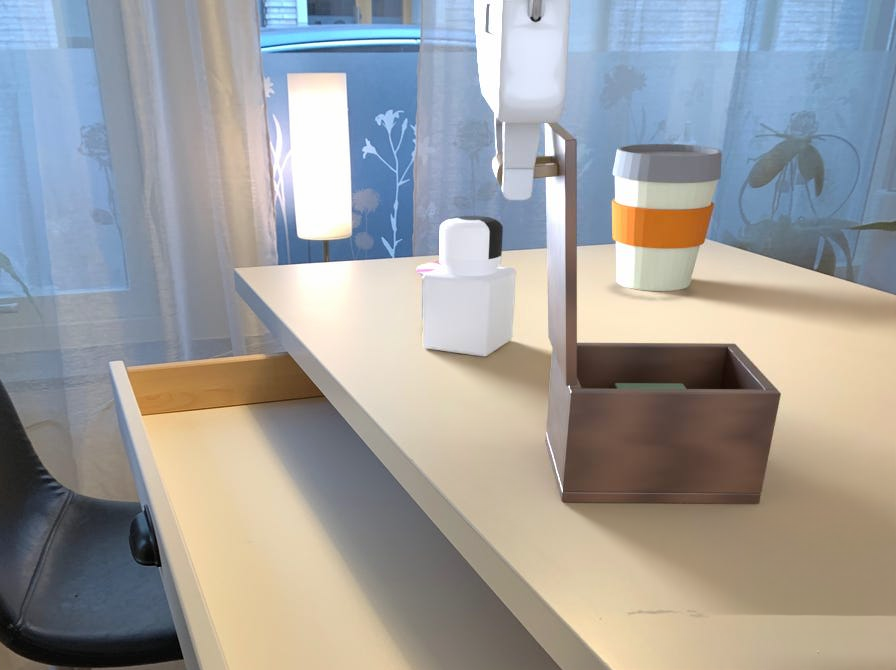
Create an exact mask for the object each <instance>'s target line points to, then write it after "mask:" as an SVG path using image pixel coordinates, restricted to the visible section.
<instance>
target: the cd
mask: <svg viewBox="0 0 896 670" xmlns="http://www.w3.org/2000/svg"><path fill="white" fill-rule="evenodd" d="M440 267H442V264H441V263H440V262H439V260H438V261H437V260H436V261H431V262H426V263H423V264H420V265H418V266H417V267H416V272H417V273H419V274H420V275H422V276H424V275H425V274H427V273H429V272H431V271H434V270H436V269H438V268H440Z"/></svg>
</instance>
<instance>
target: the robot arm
mask: <svg viewBox="0 0 896 670" xmlns="http://www.w3.org/2000/svg"><path fill="white" fill-rule="evenodd" d="M473 3H474V18H475V20H474V21H475V35H476V51H477V65H478V75H479V76H478V77H479V85H480V91H481V95H482V96H483V97H484V99H485V101H486V102H487V104H488V106H489V107H490V109H491V111H492V112H493V114H494V123H493V124H494V137H495V156H496V155H497V154H498V153H499V152H502V151H503V171H502V187H501V192H502V196H503V197H504V199H505V200H507V201H528V200H529V199H531V198H532V194H533V191H534V179H533V177H534V167H535V162H536V156H538V151H539V145H540V140H541V129H542V128H541V127H542V124H545V123H555V122H557V123H558V122H559V121H560V120H561V119H562V115H563V112H564V107H565V100H566V91H567V73H568V58H569V37H570V14H571V13H570V12H571V11H570V10H571V0H473Z"/></svg>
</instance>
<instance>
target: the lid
mask: <svg viewBox="0 0 896 670" xmlns="http://www.w3.org/2000/svg"><path fill="white" fill-rule="evenodd" d="M577 144H578V140H577V138H575V137H574V136H573V135H572V134H571V133H570V132H568V130H566V129H565V128H564V127H563V126H562V125H561V124H560V123H558V122H555V123H544V145H545V147H544V149H545V152H544V153H545V155H537V156H536V162H535V167H534V177H533V180H535V179H543V178H545V198H546V199H545V207H546V210H545V211H546V213H545V214H546V219H545V220H546V264H547V265H546V271H547V272H546V273H547V275H546V276H547V279H546V280H547V282H546V283H547V337H548V339H549V342H550V345H551V349H552V348H553V351H554V353H555V356H556V359H557V362H558V364H559V367H560V370H561V372H562V375H563V378H564V381H565V383H566V386H573V385H577V343H578V145H577ZM491 168H492V171H493V174H494V177H495V178H496V181H497V183H498V185H499V187H501V188H502V171H503V151H502V152H499V153H498V154H497V155H496V154H495V155H494V157H493V158H492V162H491Z"/></svg>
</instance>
